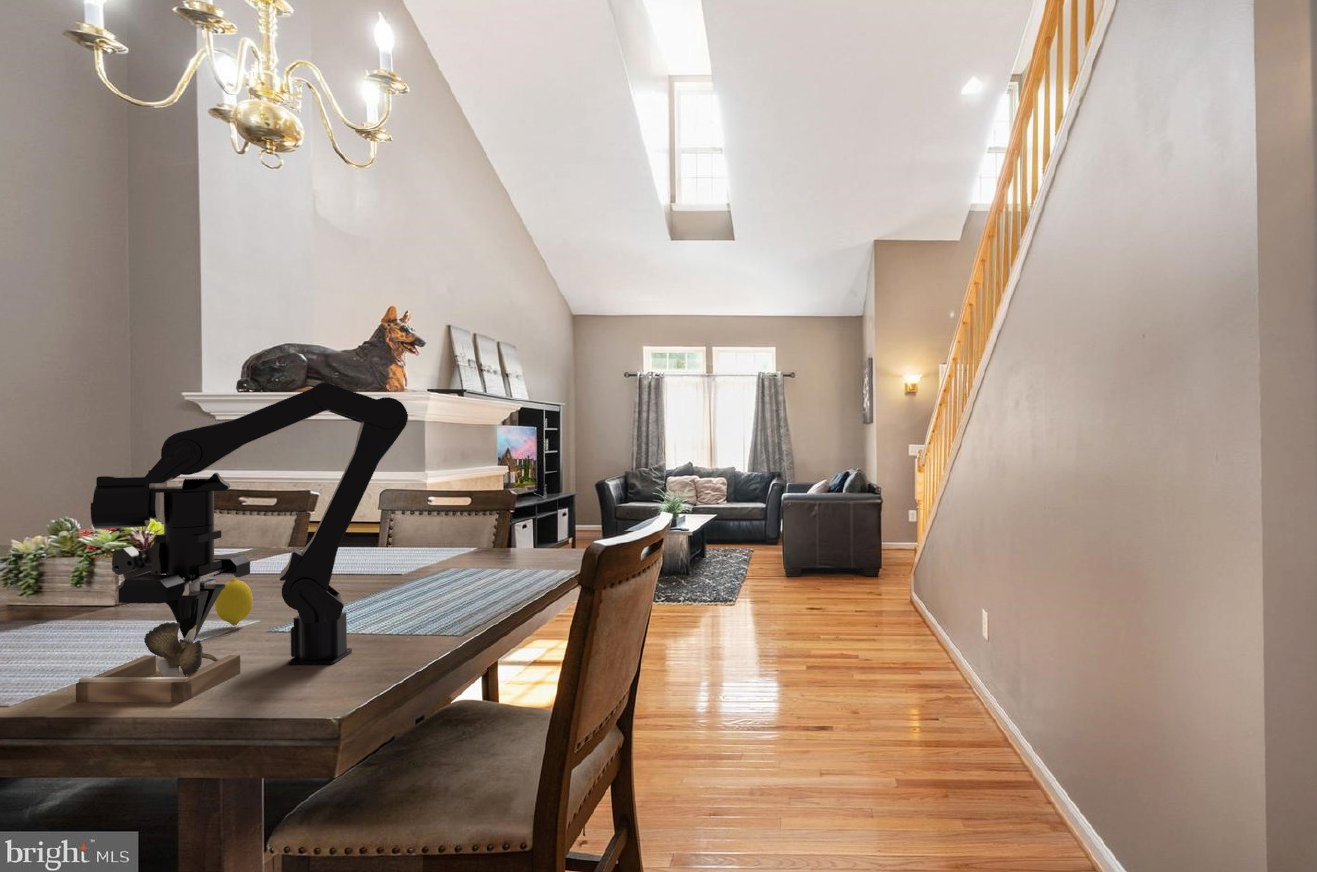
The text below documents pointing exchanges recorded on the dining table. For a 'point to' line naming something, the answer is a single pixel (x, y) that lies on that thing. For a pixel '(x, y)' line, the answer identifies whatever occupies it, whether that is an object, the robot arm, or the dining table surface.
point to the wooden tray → (153, 682)
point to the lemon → (234, 602)
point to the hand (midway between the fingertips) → (189, 641)
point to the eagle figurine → (175, 650)
